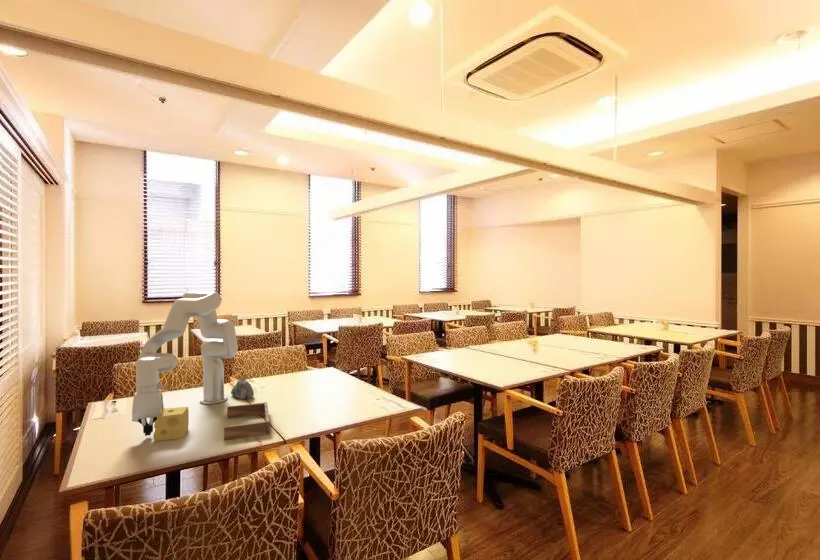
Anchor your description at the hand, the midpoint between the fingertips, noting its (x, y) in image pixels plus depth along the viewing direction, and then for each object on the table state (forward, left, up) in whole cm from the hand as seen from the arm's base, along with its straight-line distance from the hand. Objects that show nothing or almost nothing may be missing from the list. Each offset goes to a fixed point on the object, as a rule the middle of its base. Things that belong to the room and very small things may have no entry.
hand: (148, 434), depth 161 cm
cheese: (0, +8, -2) cm, 9 cm away
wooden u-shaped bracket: (0, +36, -2) cm, 36 cm away
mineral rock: (-44, +34, -2) cm, 56 cm away
